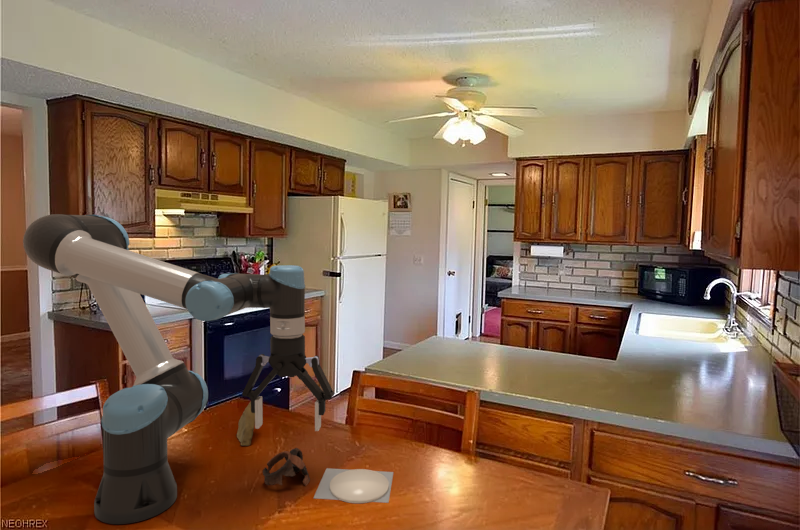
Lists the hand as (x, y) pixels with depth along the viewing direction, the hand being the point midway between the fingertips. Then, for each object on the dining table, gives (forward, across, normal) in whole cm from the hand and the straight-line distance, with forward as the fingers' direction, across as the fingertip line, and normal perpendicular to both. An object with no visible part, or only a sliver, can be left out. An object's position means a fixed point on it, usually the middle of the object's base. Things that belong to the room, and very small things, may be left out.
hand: (288, 427), depth 112 cm
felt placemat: (+13, +16, -1) cm, 20 cm away
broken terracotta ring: (+13, 0, 0) cm, 13 cm away
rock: (+13, -18, +21) cm, 31 cm away
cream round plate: (+12, +16, -2) cm, 21 cm away
